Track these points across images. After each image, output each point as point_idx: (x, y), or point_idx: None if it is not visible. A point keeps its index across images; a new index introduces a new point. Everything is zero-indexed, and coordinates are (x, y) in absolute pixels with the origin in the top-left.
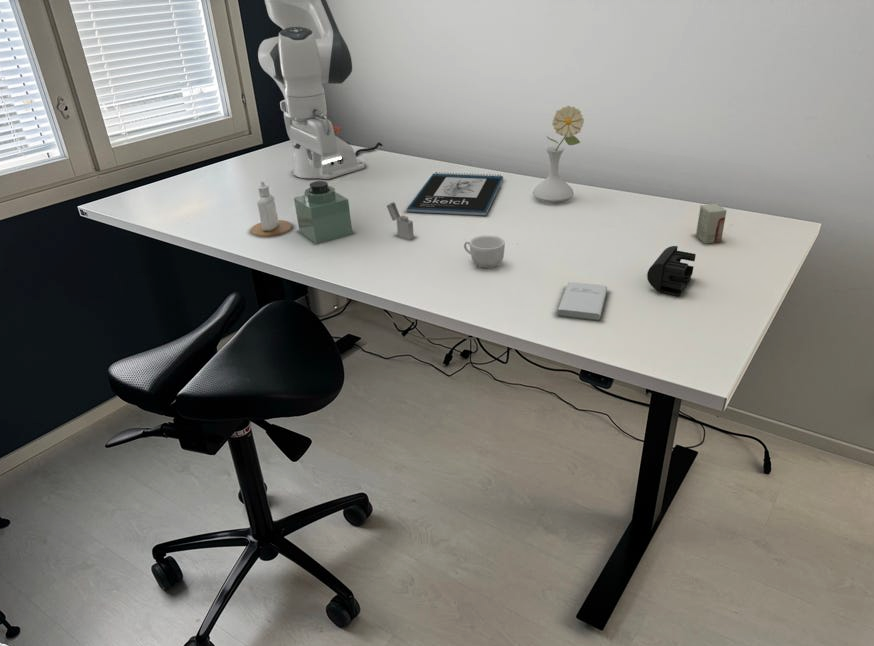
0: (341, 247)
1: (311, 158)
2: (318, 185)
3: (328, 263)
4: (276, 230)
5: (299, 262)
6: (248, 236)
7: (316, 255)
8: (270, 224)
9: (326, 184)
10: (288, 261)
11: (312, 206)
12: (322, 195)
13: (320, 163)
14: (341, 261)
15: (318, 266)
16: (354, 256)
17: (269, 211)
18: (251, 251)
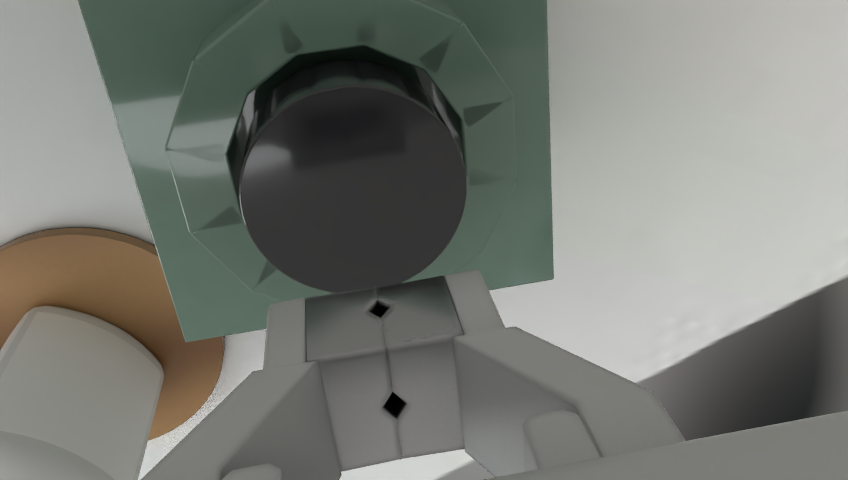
0: (635, 37)
1: (336, 446)
2: (417, 214)
3: (779, 176)
4: (165, 333)
5: (661, 299)
6: (153, 459)
7: (641, 204)
8: (154, 385)
9: (436, 120)
10: (613, 341)
11: (518, 257)
12: (514, 178)
13: (490, 298)
14: (810, 106)
15: (772, 230)
16: (809, 12)
17: (127, 437)
18: (380, 465)
